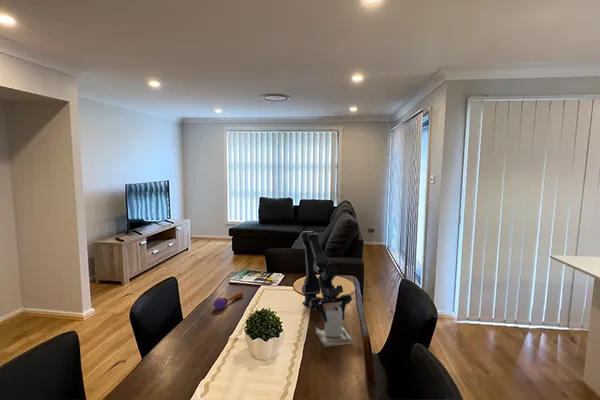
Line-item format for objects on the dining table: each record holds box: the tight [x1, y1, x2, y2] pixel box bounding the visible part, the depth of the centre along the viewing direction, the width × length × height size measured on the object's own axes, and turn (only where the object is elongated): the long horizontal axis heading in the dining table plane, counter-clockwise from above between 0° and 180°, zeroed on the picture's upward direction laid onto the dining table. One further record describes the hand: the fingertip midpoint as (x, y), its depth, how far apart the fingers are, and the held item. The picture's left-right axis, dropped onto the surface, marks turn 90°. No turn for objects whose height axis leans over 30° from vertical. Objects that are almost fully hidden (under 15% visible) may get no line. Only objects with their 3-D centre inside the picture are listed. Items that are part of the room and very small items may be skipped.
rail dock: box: [315, 326, 353, 348], centre depth 140 cm, size 12×12×2 cm
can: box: [324, 304, 343, 337], centre depth 139 cm, size 8×8×12 cm
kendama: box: [213, 290, 244, 311], centre depth 171 cm, size 6×6×20 cm
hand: (334, 320), depth 138 cm, fingers closed on can, 7 cm apart
